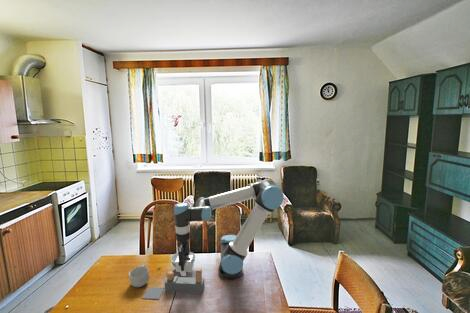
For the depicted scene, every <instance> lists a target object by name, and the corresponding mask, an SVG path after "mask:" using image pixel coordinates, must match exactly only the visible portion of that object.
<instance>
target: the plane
mask: <svg viewBox="0 0 470 313" xmlns="http://www.w3.org/2000/svg"><path fill="white" fill-rule="evenodd" d="M194 272H195V273H194V274H195V277H185V276H178V275H175V274H174V271H171V270H170V271H167V273H166V278H165V281H164V292H174V293H175V292H177V293H181V292H182V293H197V294H198V293H201V294H202V293H203V292H204V288H205V277H203V269H202V267H195V270H194Z"/></svg>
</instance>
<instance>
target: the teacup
mask: <svg viewBox="0 0 470 313" xmlns="http://www.w3.org/2000/svg"><path fill="white" fill-rule="evenodd" d="M149 270H150V269H149V267H147V266H146V264H142V265H140V266H136V267H134V268H132V269H131V270H130V271H129V272H128V278H129V284H130V285H131V286H132V287H134V288H142V287H144V286H145V285H146V284H147V283H148V282H149V280H150V271H149Z"/></svg>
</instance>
